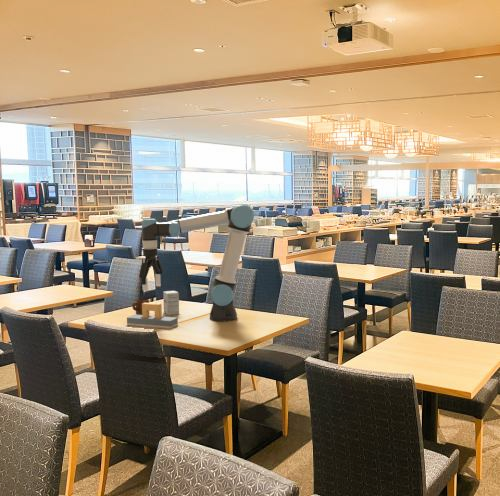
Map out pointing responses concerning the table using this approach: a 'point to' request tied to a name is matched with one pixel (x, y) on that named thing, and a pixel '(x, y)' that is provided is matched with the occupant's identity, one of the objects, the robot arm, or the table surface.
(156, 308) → the tall wooden block
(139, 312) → the mug
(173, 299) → the supplement box
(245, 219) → the robot arm
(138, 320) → the rail
